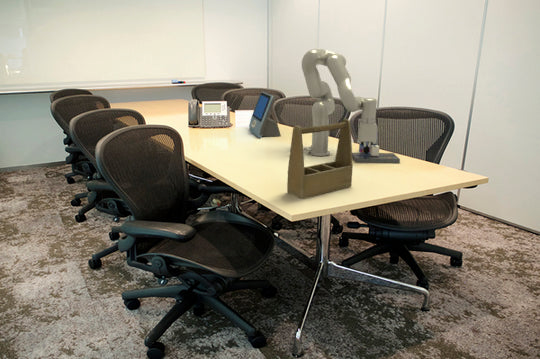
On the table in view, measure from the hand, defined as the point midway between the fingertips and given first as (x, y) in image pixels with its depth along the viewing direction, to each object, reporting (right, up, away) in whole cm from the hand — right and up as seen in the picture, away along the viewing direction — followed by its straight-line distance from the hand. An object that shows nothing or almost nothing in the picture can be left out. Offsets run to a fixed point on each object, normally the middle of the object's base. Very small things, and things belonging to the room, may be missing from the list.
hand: (366, 153), depth 233 cm
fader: (+5, -1, 0) cm, 5 cm away
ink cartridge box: (+6, +2, +20) cm, 21 cm away
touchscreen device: (-58, +19, +75) cm, 97 cm away
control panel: (+5, -4, +1) cm, 6 cm away
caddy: (-32, -19, -50) cm, 62 cm away
